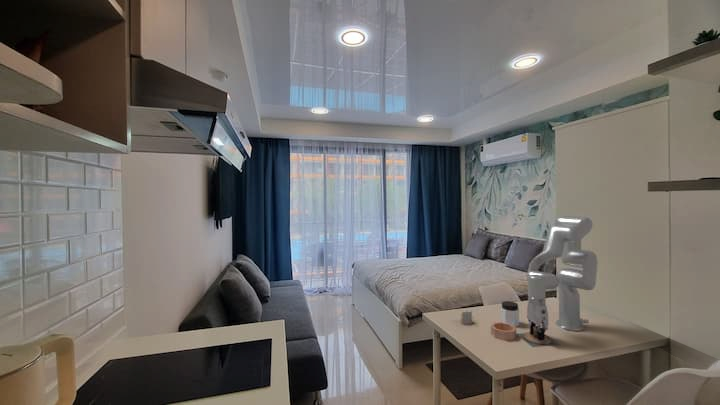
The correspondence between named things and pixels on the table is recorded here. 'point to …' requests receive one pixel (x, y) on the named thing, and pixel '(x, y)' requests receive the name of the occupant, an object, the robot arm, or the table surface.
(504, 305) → the jar
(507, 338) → the bowl
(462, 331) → the table surface
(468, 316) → the architectural model
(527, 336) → the lid
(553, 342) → the mat
